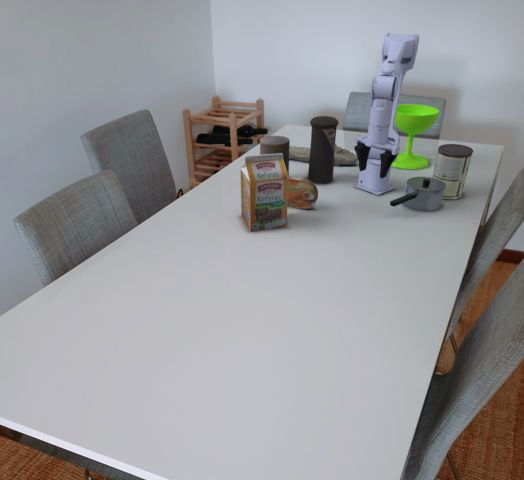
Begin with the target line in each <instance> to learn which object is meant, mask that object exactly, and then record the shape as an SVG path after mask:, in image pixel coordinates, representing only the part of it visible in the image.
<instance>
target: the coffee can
mask: <svg viewBox="0 0 524 480" xmlns="http://www.w3.org/2000/svg"><path fill="white" fill-rule="evenodd" d="M436 154H437V155H436V158H435V164H434V168H433V173H432V178H435V179H438V180H441V181H443V182H444V183H445V184H446V188H445V189H444V192H443V197H442V200H457V199H460V198H462V196H463V192H464V188H465V184H466V180H467V177H468V171H469V168H470V164H471V159H472V157H473V156H472V155H473V154H474V149H473V148H472V147H470V146H468V145H465V144H460V143H459V144H457V143H446V144H441V145H439V146H438V148H437V153H436Z"/></svg>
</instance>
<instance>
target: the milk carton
mask: <svg viewBox="0 0 524 480" xmlns="http://www.w3.org/2000/svg"><path fill="white" fill-rule="evenodd" d="M287 201H288V174H287V170H286V167H285V163H284V160H283V154H282V153H278V154H266V155H260V154H255V155H246V156H244V161H243V163H242V164H241V165H240V206H241V207H240V208H241V218H242V220H243V221H244V224H245V225H246V227H247V229H248V231H249V232H250V233H252V232H260V231H269V230H276V229H277V230H278V229H287V228H288V227H287V224H288V206H287Z"/></svg>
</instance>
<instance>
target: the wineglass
mask: <svg viewBox="0 0 524 480" xmlns="http://www.w3.org/2000/svg"><path fill="white" fill-rule="evenodd" d="M439 115H440V110H439V109H438V108H437V107H434V106H430V105H426V104H416V103H405V104H398V107H397V112H396V117H395V123H394V125H395V126H396V127H397V128H398V130H400V132H402V133H405V134H407V142H406V148H405V152H399V154H398V156H397V160H396V161H395V162H393V163H392V165H391V167H393V168H397V169H402V170H421V169H424V168H427V167H428V166H429V165H430V163H429V162H430V161H429V160H428V159H427V158H426V157H425V156H423V155H420V154H417V153H412V148H413V143H414V138H415V135H419V134H422V133H425V132H427V131H429V129H431V127H432V126H433V125H434V124H435V123H436V121H437V120H438V118H439Z"/></svg>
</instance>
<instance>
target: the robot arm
mask: <svg viewBox="0 0 524 480" xmlns="http://www.w3.org/2000/svg"><path fill="white" fill-rule="evenodd" d="M419 44H420V36H419V34H418V33H415V34H413V33H411V34H410V33H391V32H386V33H385V34H384V37H383V41H382V46H381V47H382V48H381V62H382V63H381V65H380V67H379V71H378V73H377V75H376V77H373V79H372V82H371V86H370V87H371V88H370V103H369V105H370V107H371V108H370V112H369V121H368V129H367V135H362V134H358V135H355V136H354V144H356V145H355V146H354V147H353V150H354V151H355V155H357V157H358V161H357V163H358V169H359V170H358V171H359V174H358V182H357V185H356V186H355V187H356V188H358V189H361V190H363V191H366V192H369V193H371V194H374V195H376V196H380V195H382V194H385V193H387V192H389V191H392V190H394V187H393V186H390V185H389V184H390V177H391V171H392V166H391V165H392V163H393V162H395V161H396V160H397V156H398V154H399V153H400V150H401V145H400V142H401V137H400V134H399V133H398V132H397V131H396V130H395V129H394V127H395V117H396V112H397V107H398V105H399V102H400V98H401V91H402V86H403V81H404V80H405V76H406V74H407V72H409V71H410V70H413V68H414V65H415V63H416V58H417V54H418V49H419Z"/></svg>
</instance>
